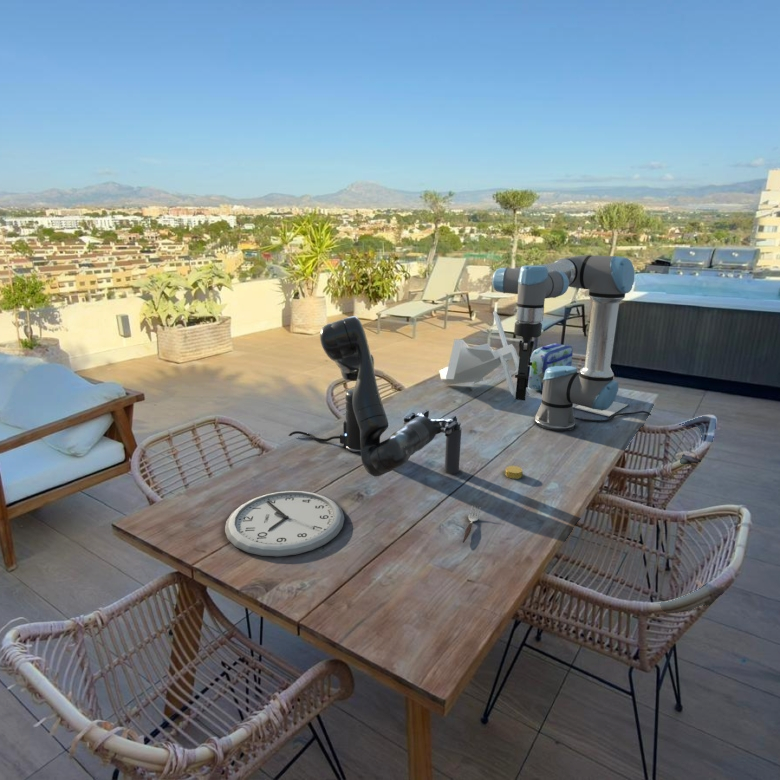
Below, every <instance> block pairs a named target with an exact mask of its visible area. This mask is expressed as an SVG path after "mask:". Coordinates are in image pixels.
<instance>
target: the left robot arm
mask: <svg viewBox="0 0 780 780" xmlns="http://www.w3.org/2000/svg"><path fill="white" fill-rule="evenodd" d="M319 340H320V344H321V348H322V349H323V351H324V353H325V354H326V356H327V357H328V359H330V360H331V361H333V362H334V364H335V365H336V366H337V367H338V369H339V371H340V374H341V376H342V378H343V379H344V380H345V381H348V382H355V384H354V388H353V387H352V388H350V389H349V390H346V393H345V420H344V421H343V430H342V431H343V432H342V433H341V434H339V435H333V436H329V437H327V438H321V437H316V436H315V435H313V434H311V433H309V432H305V431H301V430H295V431H292V432H290V433H289V434H288V437H292V436H293V435H297V434H298V435H302V436H307V437H309V438H312V439H313V440H314V441H319V442H329V441H331V440H337V439H339V444H340V445H341V444H342V445H343V448H344V449H346V450H347V451H349V452H352V453H358V454H359V453H360V458H361V463H362V466H363V468H364V469H365V471H366V473H368V474H369V475H371V476H373V477H380V476H383V475H385V474H387V473H390V472H392V471H395V470H397V469H399V468H401V467H402V466H404V465H405V464H406V463H407V462H408V461H409V460H410V458H411V456H413V455H414V454H415V453H416V452H419V451H420V450H422V449H423V448H424V447H426V446H427V445H428V444H429V443H430V442H432V441H433V440H434V439H435V437H436V435H438V434H441V433H442V434H444V437H446V436H447V437H449V436H450V435H452V434H453V433H455V432H456V431H457V430H458V422H459V421H458V417H457V415H452V416H451V417H450V418H448V419H445V418H437V419H435V418H429V415H430V411H429V410H427V409H426V410H423V411H421V412H418V413H417V414H416V413H415V412H410V413H408V414H407V415H406V416H405V417H404V418H403V425H402V426H401V427H400V428H399V429H397V430H396V431H395V432H393V433H392V434H391V435H390V436H389V437H388V438H387V439H384V440H383V441H381V437H382V435H383V433H384V432H386V431H387V430H388V428H389V420H388V417H387V414H386V412H385V408H384V405H383V402H382V399H381V396H380V392H379V388H378V383H377V378H376V373H375V358H374V355H373V354H372V353H371V350H370V346H369V341H368V338H367V335H366V331H365V329H364V326H363V324H362V322H361V320H360V318H358V317H357V316H355V315H353V316H348V317H345V318H342V319H340V320H336V321H333V322H330V323H327V324H326V325H324V326H323V327H322V328H320V331H319ZM457 421H458V422H457ZM307 433H308V434H307Z"/></svg>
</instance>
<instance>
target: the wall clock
mask: <svg viewBox="0 0 780 780" xmlns="http://www.w3.org/2000/svg"><path fill="white" fill-rule="evenodd" d="M344 515H345V514H344V511H343V509H342V508H341V507H340V505H338V503H336V502H335V501H334V500H333V499H332V500H331V499H330V498H329V497H327V496H324V495H322V494H318V493H316V492H311V491H310V492H309V491H305V490H304V491H303V490H284V491H276V492H272V493H267V494H264V495H260V496H257V497H255V498H252V499H250V500H248V501H246V502H245V503H243V504H241V505H240V506H238V508H236V509H235V510H233V511H232V512H231V513H230V515H229V517H228V518H227V520H226V521H225V527H224V532H225V536H226V538H227V540H228V541H229V542H230V544H231V545H233V546H234V547H235V548H237V549H240V550H241V551H244V552H245V553H248V554H252V555H256V556H262V557H287V556H294V555H296V556H297V555H299V554H304V553H307V552H311V551H313V550H316V549H318V548H320V547H322V546H324V545H327V544H328V543H329V542H331V541H332V540H333V539H335V538H336V537H337V536H338V534H339V533H340V532H341V530H342V529H343V527H344V522H345V516H344Z"/></svg>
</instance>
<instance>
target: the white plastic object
mask: <svg viewBox="0 0 780 780" xmlns="http://www.w3.org/2000/svg"><path fill="white" fill-rule="evenodd" d="M492 315H493V319H494V321H495V324H496V325H495V326H496V328H497V332H498V335H499V338H500V342H501V345H502V347H500V348H498V349H496V350H495V349H493V348H492V347H491V346H490V344H489V343H488V342H487V343H483V344H479V345H473V346H469V345H468V343H466V342H465V340H464V339H463V338H460V339H458V338H454V340H453V344H452V349H451V353H450V357H449V362H448V366H446V367H444V368H442V369H440V370H439V371H438V372H439V376H440V381H442V383H443V384H444V385H445V386H449V385H458V384H467V383H468V384H469V383H473V384H477V383H480V382H482V381H484V378H485V377H486V376H487V375H489V374H490V373H492V372H494V371H495V370H496V369H497V368H499V367H500V366H502V370H503V373H504V376H505V380H506V383H507V386H508V390H509V393H510V394H511V395H512V397H513V398H515V397H516V387H515V385H514V381H513V378H512V375H511V371H510V369H509V365H508V361H510V360H513V363H514V366H515V369H516V372H517V374H518V367H519V359H520V358H519V354H518V352H517V349H516V347H515V346H514V345H513V343H511V344H508V341H507V337H506V334H505V331H504V328H503V325H502V321H501V318H500V315H499V314H498V312H497V311H496V310H495V311H492ZM528 396H531V395H530V390H529V386H528V387H526V396H525V397H528Z"/></svg>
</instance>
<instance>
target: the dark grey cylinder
mask: <svg viewBox="0 0 780 780" xmlns="http://www.w3.org/2000/svg"><path fill="white" fill-rule="evenodd" d="M457 422H458V430H457V431H456V432H455V433H453V434H452V435H450V436H449V437H447V436H445V455H444V472H445V473H446V474H450V475H456V474H458V473H459V472H460V459H461V443H462V427H461V425H462V424H461V422H460V421H458V420H457Z"/></svg>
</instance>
